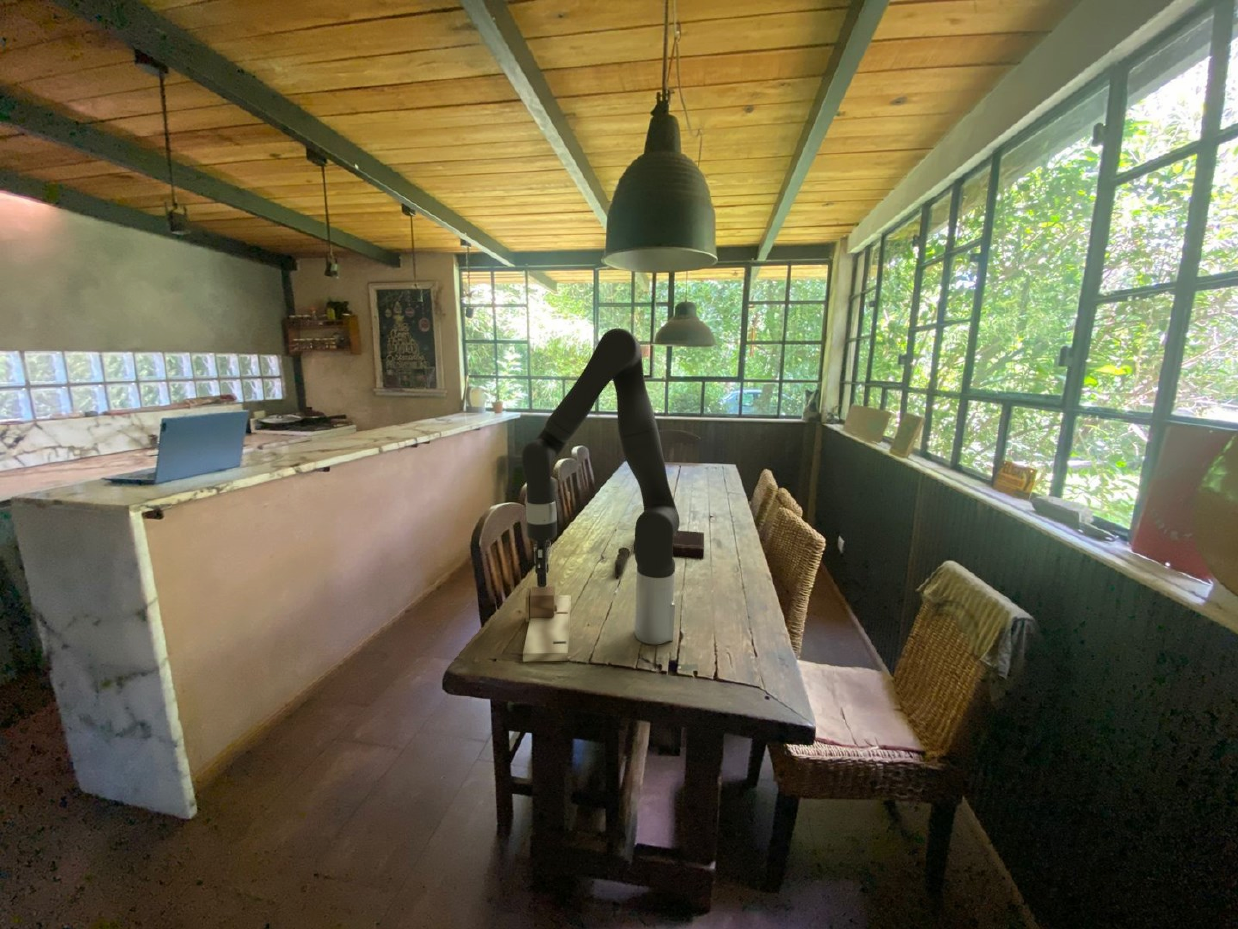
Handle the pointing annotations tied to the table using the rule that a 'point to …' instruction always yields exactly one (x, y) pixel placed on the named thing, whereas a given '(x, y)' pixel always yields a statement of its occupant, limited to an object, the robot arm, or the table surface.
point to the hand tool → (621, 561)
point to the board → (549, 634)
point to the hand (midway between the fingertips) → (543, 579)
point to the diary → (688, 544)
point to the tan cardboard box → (540, 602)
